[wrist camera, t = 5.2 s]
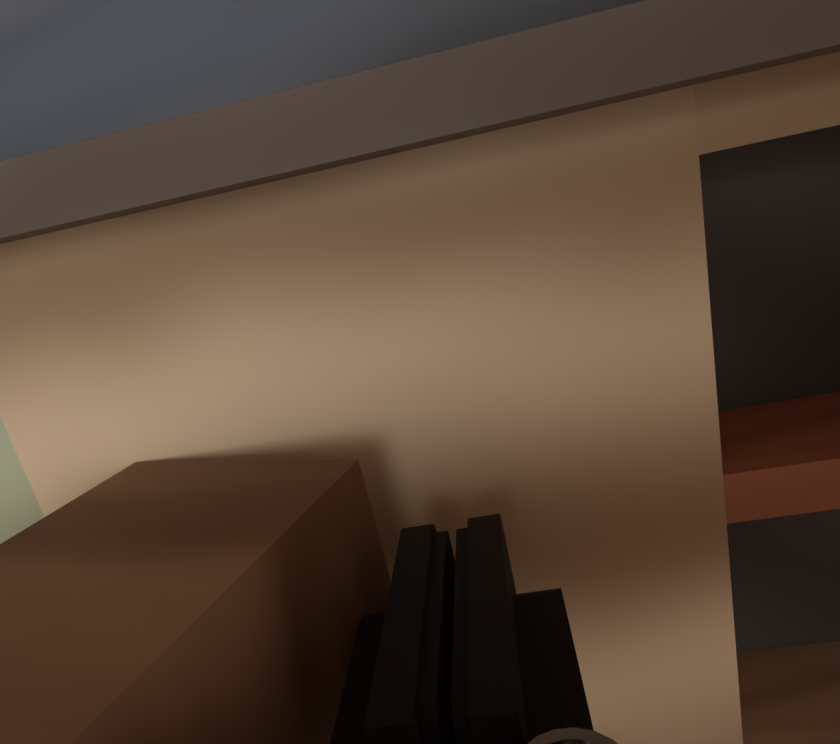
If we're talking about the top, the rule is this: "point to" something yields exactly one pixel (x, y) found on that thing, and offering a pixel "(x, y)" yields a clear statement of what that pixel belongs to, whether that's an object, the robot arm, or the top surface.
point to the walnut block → (190, 606)
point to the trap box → (491, 330)
